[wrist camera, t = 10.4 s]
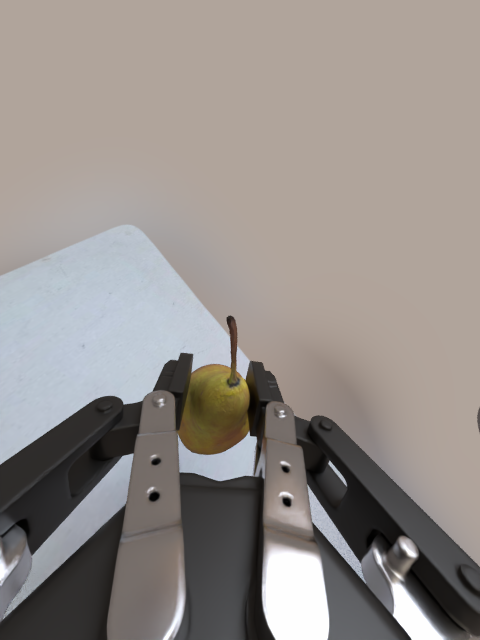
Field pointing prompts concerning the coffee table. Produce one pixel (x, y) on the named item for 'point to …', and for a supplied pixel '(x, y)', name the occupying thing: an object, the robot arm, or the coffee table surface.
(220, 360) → the coffee table surface
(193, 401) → the fruit
